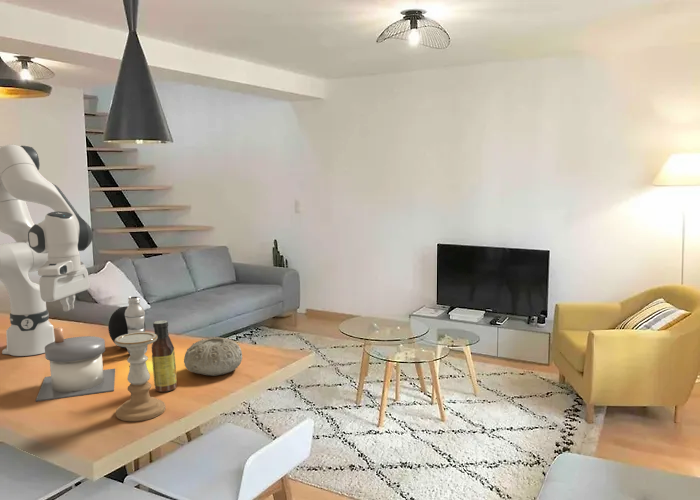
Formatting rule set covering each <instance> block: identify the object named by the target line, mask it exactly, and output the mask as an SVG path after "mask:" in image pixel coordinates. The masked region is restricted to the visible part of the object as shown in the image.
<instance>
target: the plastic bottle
mask: <svg viewBox="0 0 700 500" xmlns="http://www.w3.org/2000/svg"><path fill="white" fill-rule="evenodd" d="M127 301H128V302H127V304H128V307H127V309H126V311H125V318H126V323H127V328H128V334H129V333H137V332H146V330H145V331H144V321H145V317H146V311H145V309H144V307H143V306H142V305H141V304H140V303H141V299H140V296H129V297H128V299H127ZM126 350H127V353H128V354H129V355H130V351H129V350H128V349H127V348H126ZM147 351H148V345H147V347H146V348H145V350H144V354H145V355H146V353H147Z"/></svg>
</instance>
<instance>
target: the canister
mask: <svg viewBox="0 0 700 500" xmlns="http://www.w3.org/2000/svg"><path fill="white" fill-rule="evenodd" d="M103 363H104V362H103V353H102V354H100V355H98V356H95V357H92V358H88V359H84V360H78V361H70V362H54V361H49V368H50V376H45V377H44V378H43V382H42V383H41V385H40V386H41V387H40V389H39V391H38V394H37V395H36V398H35V402H42V401H50V400H57V399H64V398H70V397H71V398H72V397H78V396H79V397H80V396H89V395H95V394H103V393H110V392H111V393H112V392H115V377H116V368H108V369H107V368H106V369H104V365H103Z"/></svg>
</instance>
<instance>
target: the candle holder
mask: <svg viewBox="0 0 700 500" xmlns="http://www.w3.org/2000/svg"><path fill="white" fill-rule="evenodd" d="M157 338H158V336H157V335H156V334H155V332H149V331H145V332H137V333H129V334H125V335H122V336H119V337H117V338H116V339H115V343H114V344H115V345H116V346H118V347H119V346H121V347H120V348H122V347H126V348H125V349H126V350H127V349H128V350H129V351H130V354H129V357H128V358H127V361H126V362H127V363H129V371H128V374H127V382H129V383H130V384H129V385H128V386H127V388H126V389H127V391H128V392H129V393H130V398H129V399H128V400H126V401H124V403H122V404H121V405H119V406H118V407H117V408H116V410H115V416H116V418H117V419H118V420H120V421H123V422H142V421H148V420H151V419H154V418H156V417H158V416H161V415H162V414H163V413H164V412H165V410H166V403H165V402H164V401H163V400H161V399H158V398H156V397H154V396H150V389H151V388H152V384H151V383H150V382H149V381H150V379H151V375H150V372H149V369H148V367H147V361H148V360H149V357H148V356H147V354H146V353H145V354H144V350H145V348H146V347H147V346H148V345H152V344H153V342H155V341H156V340H157ZM147 348H148V347H147ZM128 350H127V351H128Z"/></svg>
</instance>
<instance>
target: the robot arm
mask: <svg viewBox="0 0 700 500" xmlns="http://www.w3.org/2000/svg"><path fill="white" fill-rule="evenodd" d="M39 170H40V157H39V155H38V153H37V151H36V150H35V149H34V147H32V146H26V145H18V144H13V143H12V144H10V143H9V144H5V145H2V146H0V232H1V233H3V234H5V235H8V236H10V237H11V238H13V240H14V241H15V242H8V243H1V244H0V282H1V283H2V284H3V285H4V287H5V289H6V291H7V294H8V300H9V306H10V307H9V308H10V313H9V324H11V325H10V326H9V327H7V329H6V332H5V333H6V335H5V337H6V348H4V349H2V351H1V353H2V355H9V356H10V355H11V356H13V357H24V356H25V357H26V356H28V357H29V356H35V355H40V354H45V346H46V345H48V344H50V343H52V342H55V337H54V329H55V328H54V325H53V324H52V323H51V322H50V320H49V319H50V318H49V317H50V316H49V315H50V314H49V310H48V309H47V303H49V302H50V303H51V302H56V301H59V302H60V304H61V306H62V310H63V311H64V312H69V311H72V310H74V309H75V305H74V304H75V301H76V294H79V293H82V292H84V291H88V290H89V289H90V286H91V283H90V275H89V273H88V269H87V267H86V264H84V262H83V261H81V254H80V252H84V251H85V250H86V249H87V248H88V247H89V246H90V245H91V244H92V242H93V239H94V233H93V230H92V228H91V226H90V224H89V223H88V222H86V220H85V219H83V218H82V216H81V215H80V214H79V213H78V212H77V210H76V209H75V208H74V206H73V205H72V203H71V202H70V200H68V197H66V195H65V194H64V192H62V191H63V190H61V189H60V187H58V185H56V184H54V183H52V182H51V181H49V180H48V179H46V177H45V176H43V175H42V174H41V173H40V171H39ZM27 202H29V203H34V204H35V203H36V204H40V205H43V206H46V207H48V208H49V209H52V210H53V211H50V212H48V213H47V214H46V215H45V218H44V219H43V220H41V221H40V222H38V223H36V224H35V222H34V221H33V218H32V216H31V213H30V210H29V207H28V204H27ZM33 272H37V275H38V276H39V282H38V283H37V282H33V281H31V279H30V277H29V273H33Z"/></svg>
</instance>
